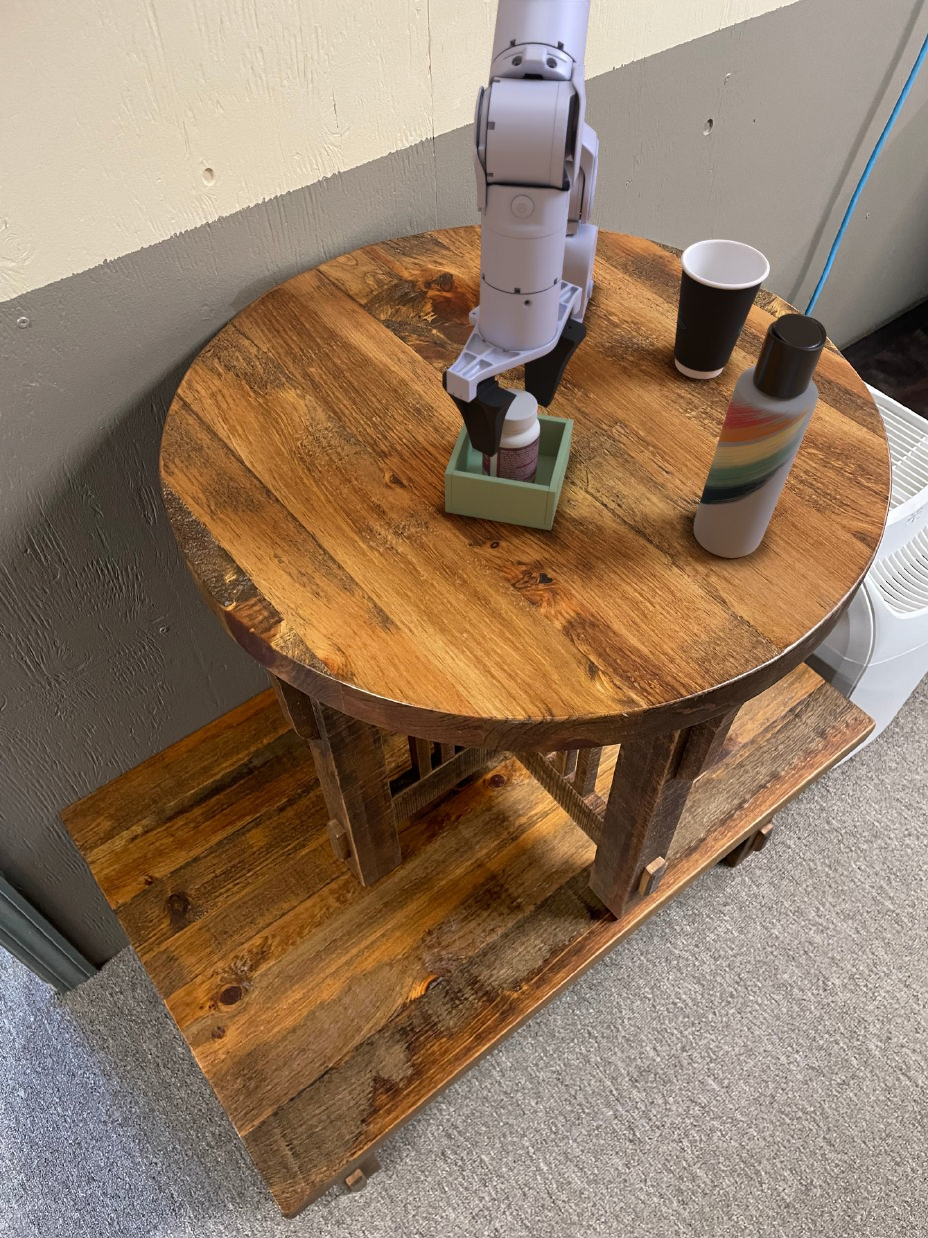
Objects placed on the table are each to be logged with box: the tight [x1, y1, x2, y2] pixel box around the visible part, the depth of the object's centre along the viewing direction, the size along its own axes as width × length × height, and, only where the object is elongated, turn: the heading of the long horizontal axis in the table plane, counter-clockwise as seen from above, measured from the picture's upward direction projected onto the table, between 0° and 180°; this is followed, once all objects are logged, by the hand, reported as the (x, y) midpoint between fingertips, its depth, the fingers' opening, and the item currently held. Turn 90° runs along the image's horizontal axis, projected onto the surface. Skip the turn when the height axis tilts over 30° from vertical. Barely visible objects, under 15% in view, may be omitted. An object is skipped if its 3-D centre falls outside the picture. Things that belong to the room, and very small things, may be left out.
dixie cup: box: [673, 239, 771, 380], centre depth 82 cm, size 8×8×11 cm
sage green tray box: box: [444, 413, 575, 531], centre depth 74 cm, size 9×9×4 cm
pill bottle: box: [482, 388, 540, 484], centre depth 72 cm, size 5×5×8 cm
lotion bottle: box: [693, 312, 828, 559], centre depth 65 cm, size 6×6×20 cm
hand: (512, 425), depth 71 cm, fingers open, 7 cm apart
